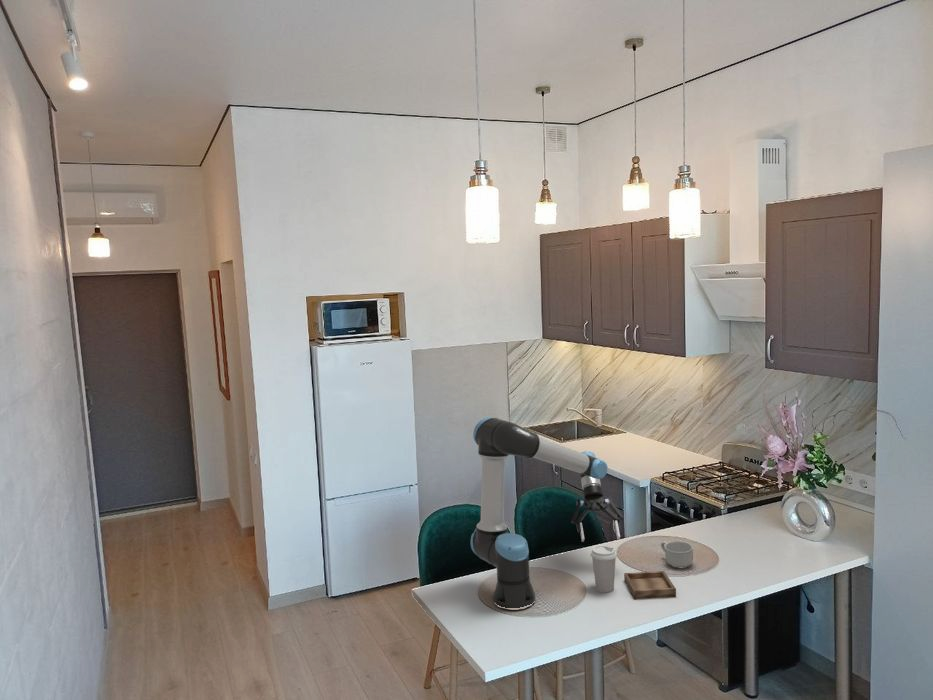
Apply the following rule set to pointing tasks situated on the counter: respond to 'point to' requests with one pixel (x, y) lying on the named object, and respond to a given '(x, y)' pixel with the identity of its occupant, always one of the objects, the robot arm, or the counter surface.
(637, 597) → the walnut tray
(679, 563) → the teacup
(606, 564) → the coffee cup
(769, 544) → the counter surface
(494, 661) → the counter surface
